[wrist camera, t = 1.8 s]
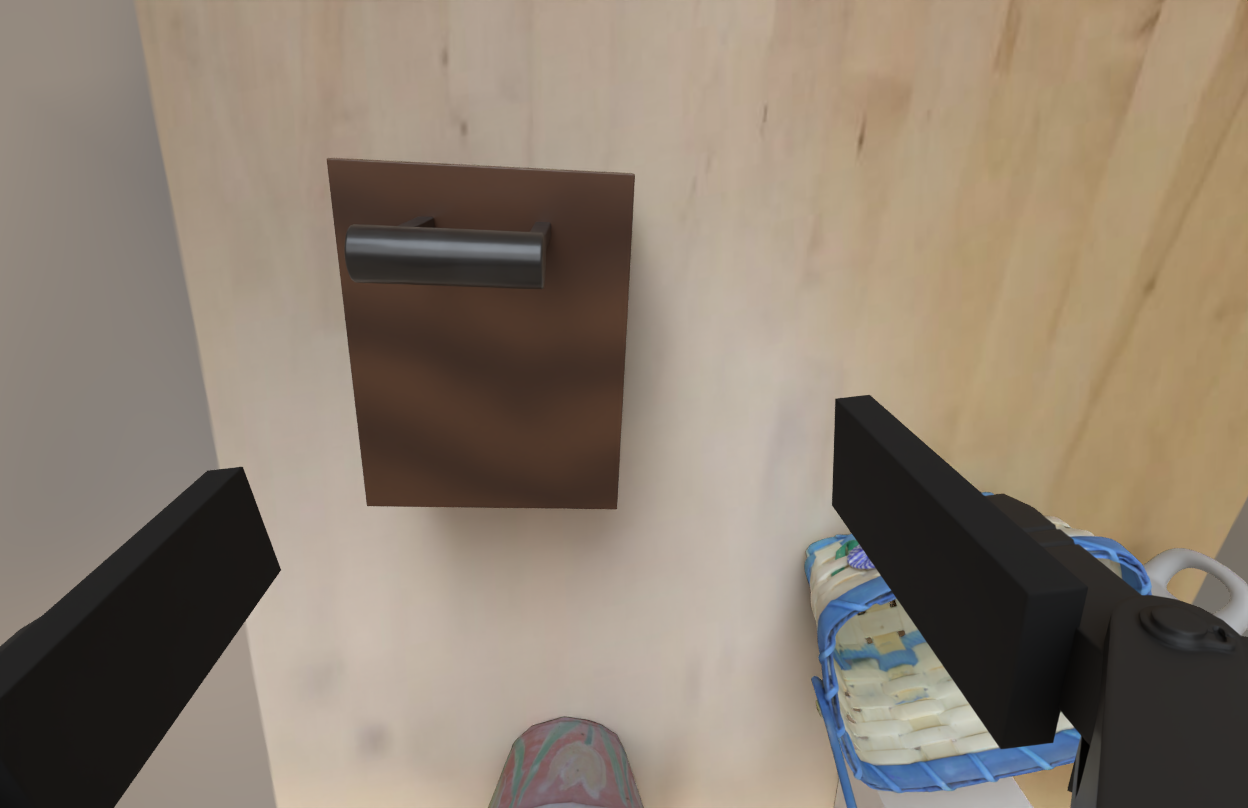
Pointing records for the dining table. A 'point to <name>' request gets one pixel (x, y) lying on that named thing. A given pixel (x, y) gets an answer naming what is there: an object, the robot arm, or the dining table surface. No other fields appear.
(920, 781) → the basket
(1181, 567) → the mug
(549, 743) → the potted plant
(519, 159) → the dining table surface
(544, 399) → the lid
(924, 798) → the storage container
